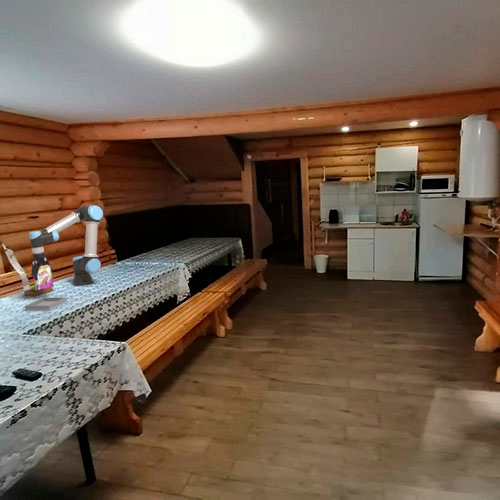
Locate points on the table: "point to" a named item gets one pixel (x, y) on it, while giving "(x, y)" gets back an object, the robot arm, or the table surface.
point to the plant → (37, 291)
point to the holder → (45, 304)
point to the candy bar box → (44, 278)
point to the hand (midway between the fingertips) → (43, 281)
